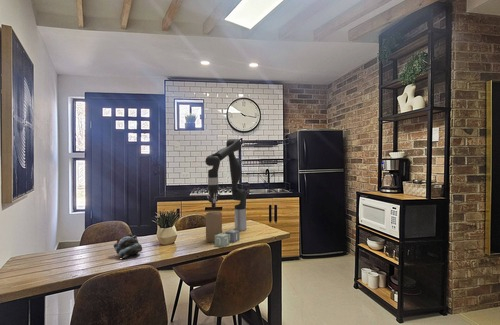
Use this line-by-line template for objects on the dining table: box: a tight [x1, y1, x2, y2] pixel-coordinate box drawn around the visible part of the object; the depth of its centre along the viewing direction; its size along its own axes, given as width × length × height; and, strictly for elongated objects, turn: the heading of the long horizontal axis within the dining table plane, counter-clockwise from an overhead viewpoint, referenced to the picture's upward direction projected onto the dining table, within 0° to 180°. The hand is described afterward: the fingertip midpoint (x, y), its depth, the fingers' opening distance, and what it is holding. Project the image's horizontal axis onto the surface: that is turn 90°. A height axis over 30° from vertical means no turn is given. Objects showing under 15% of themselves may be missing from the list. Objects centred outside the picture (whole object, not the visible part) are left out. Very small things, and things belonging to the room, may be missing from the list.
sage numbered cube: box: [214, 232, 230, 248], centre depth 198 cm, size 7×7×7 cm
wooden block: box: [205, 211, 223, 243], centre depth 209 cm, size 10×10×20 cm
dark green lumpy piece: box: [113, 234, 143, 260], centre depth 179 cm, size 15×12×14 cm
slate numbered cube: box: [225, 229, 240, 244], centre depth 208 cm, size 7×7×7 cm
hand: (213, 208), depth 209 cm, fingers closed
